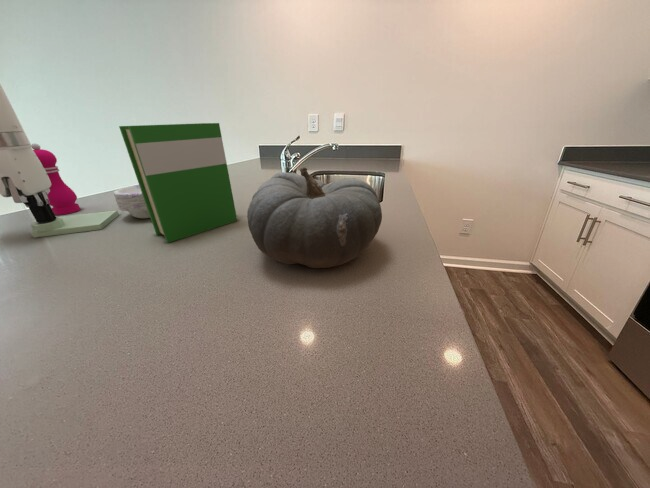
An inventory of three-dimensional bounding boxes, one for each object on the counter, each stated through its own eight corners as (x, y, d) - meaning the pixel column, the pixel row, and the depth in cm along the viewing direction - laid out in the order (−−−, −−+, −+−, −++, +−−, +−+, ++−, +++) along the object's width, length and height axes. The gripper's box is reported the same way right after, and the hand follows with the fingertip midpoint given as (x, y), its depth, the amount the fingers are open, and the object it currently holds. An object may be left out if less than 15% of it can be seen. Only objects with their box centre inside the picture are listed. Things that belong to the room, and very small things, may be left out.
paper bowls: (172, 202, 87) (165, 179, 83) (190, 212, 77) (183, 186, 73) (118, 214, 77) (107, 188, 73) (130, 227, 67) (118, 197, 64)
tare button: (38, 229, 63) (35, 223, 62) (45, 225, 66) (42, 219, 65) (53, 227, 64) (49, 221, 63) (59, 223, 66) (56, 218, 66)
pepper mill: (46, 214, 79) (9, 144, 70) (74, 207, 85) (43, 142, 76) (60, 216, 76) (23, 144, 68) (87, 209, 82) (57, 142, 74)
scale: (31, 238, 62) (24, 227, 61) (59, 221, 73) (54, 211, 71) (101, 229, 66) (96, 218, 65) (119, 214, 77) (115, 205, 75)
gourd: (258, 218, 63) (260, 144, 54) (357, 228, 67) (373, 160, 58) (237, 286, 42) (233, 184, 33) (382, 295, 46) (414, 206, 37)
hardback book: (168, 242, 58) (129, 126, 47) (156, 234, 63) (118, 126, 52) (237, 220, 70) (219, 123, 59) (223, 214, 74) (204, 123, 64)
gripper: (7, 140, 61) (46, 213, 69) (-51, 145, 49) (5, 234, 57) (46, 138, 63) (80, 209, 71) (0, 143, 51) (47, 229, 59)
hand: (47, 220), depth 64 cm, fingers closed
